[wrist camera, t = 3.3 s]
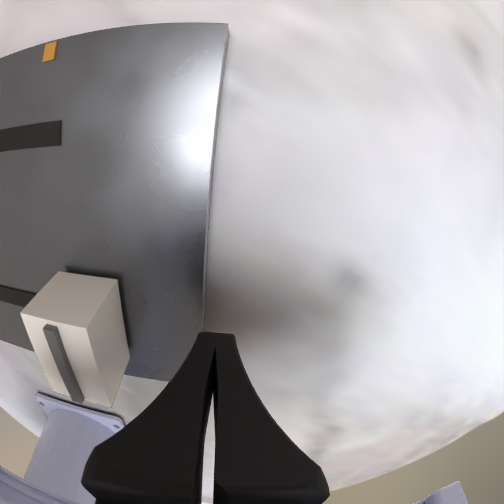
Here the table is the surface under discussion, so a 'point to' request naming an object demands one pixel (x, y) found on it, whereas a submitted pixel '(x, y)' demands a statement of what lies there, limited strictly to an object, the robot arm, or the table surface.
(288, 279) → the table surface
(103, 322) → the block
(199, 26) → the plate
